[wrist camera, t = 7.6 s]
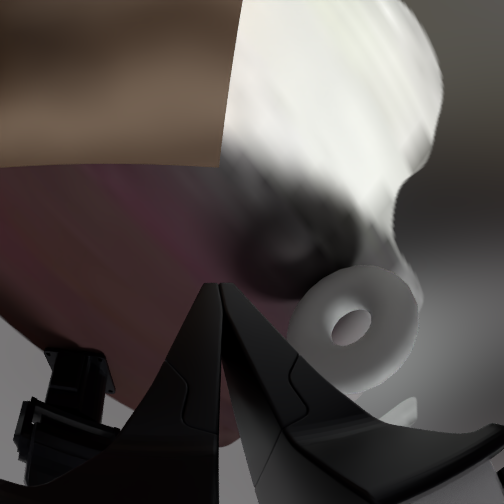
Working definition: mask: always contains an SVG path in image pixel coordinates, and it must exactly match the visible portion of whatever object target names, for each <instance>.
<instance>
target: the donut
mask: <svg viewBox="0 0 504 504" xmlns="http://www.w3.org/2000/svg"><path fill="white" fill-rule="evenodd" d="M358 309H364V310H366V311H368V312H369V313H370V314H371V325H370V328H369V329H368V331H367V332H366V333H365V335H364V336H363V337H361V338H360V339H359V340H358V341H356V342H354V343H352V344H350V345H347V346H339V345H335V344H334V343H333V342H332V338H331V332H332V330H333V328H334V325H335V324H336V323H337V321H338V320H339V319H340V318H341V317H343V316H344V315H345V314H347V313H349V312H351V311H353V310H358ZM418 329H419V322H418V306H417V302H416V300H415V298H414V296H413V294H412V292H411V290H410V288H409V286H408V285H407V284H406V283H405V282H404V281H403V280H402V279H401V278H399V277H398V276H397V275H396V274H395V273H393V272H391V271H388V270H385V269H383V268H380V267H377V266H370V265H356V266H352V267H348V268H344V269H340V270H338V271H336V272H334V273H332V274H330V275H328V276H326V277H324V278H323V279H321V280H320V281H319V282H318V283H316V284H315V285H314V286H313V287H311V288H310V289H309V290H308V292H307V293H306V294H305V295H304V297H303V298H302V299H301V300H300V302H299V303H298V304H297V306H296V308H295V310H294V312H293V314H292V317H291V319H290V321H289V326H288V332H287V337H286V338H287V341H288V342H289V343H290V344H291V346H292V347H293V348H294V349H295V350H296V351H297V352H298V353H299V355H301V356H302V357H303V358H304V359H305V360H306V361H307V362H308V363H309V364H310V365H311V366H312V367H313V368H314V369H315V370H316V371H317V372H318V373H319V374H320V375H321V376H323V377H324V378H325V379H326V380H327V381H328V382H330V383H331V384H332V385H333V386H334V387H335V388H337V389H338V390H339V391H341V392H342V393H343V394H356V393H360V392H363V391H365V390H368V389H370V388H373V387H375V386H378V385H380V384H381V383H383V382H384V381H385V380H386V379H388V378H389V377H390V376H391V375H393V374H394V373H395V372H396V371H398V370H399V369H400V367H401V366H402V364H403V363H404V361H405V360H406V359H407V357H408V356H409V354H410V353H411V351H412V350H413V346H414V343H415V340H416V336H417V333H418Z"/></svg>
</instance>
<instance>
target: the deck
mask: <svg viewBox="0 0 504 504" xmlns="http://www.w3.org/2000/svg"><path fill="white" fill-rule="evenodd" d="M242 1H243V0H0V168H3V167H17V166H34V165H58V164H157V165H183V166H202V167H218V168H219V161H220V153H221V144H222V136H223V128H224V120H225V113H226V105H227V98H228V91H229V83H230V76H231V70H232V63H233V56H234V50H235V43H236V37H237V31H238V25H239V18H240V13H241V7H242Z"/></svg>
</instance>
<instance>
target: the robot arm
mask: <svg viewBox="0 0 504 504" xmlns="http://www.w3.org/2000/svg"><path fill="white" fill-rule="evenodd" d="M44 355H45V357H46V359H47V361H48V363H49V365H50V367H51V369H52V375H51V378H50V382H49V387H48V390H47V394H46V398H45V403H44V402H41V401H39V400H37V398H35V397H32V398H31V402H30V401H23V404H22V408H21V411H20V415H19V419H18V423H17V426H16V430H15V434H14V438H13V441H14V443H15V444H16V446H17V448H18V450H17V452H19V459H18V460H20V461H22V462H25V463H26V467H25V475H24V484H25V486H24V485H19V484H15V483H12V482H9V481H6V480H2V479H0V504H219V473H218V472H219V469H218V468H219V465H218V464H219V459H218V458H219V414H220V384H221V359H222V364H223V369H224V373H225V377H226V381H227V386H228V390H229V394H230V398H231V402H232V406H233V410H234V414H235V418H236V422H237V426H238V430H239V434H240V438H241V441H242V445H243V449H244V452H245V456H246V460H247V463H248V467H249V471H250V474H251V478H252V481H253V484H254V487H255V492H256V495H257V499H258V502H259V504H504V467H503V468H502V469H500V470H499V471H498V472H496V471H495V469H494V467H493V465H492V463H491V461H490V459H491V458H493V457H494V456H495V455H497V454H498V453H499V452H501V451H502V450H503V449H504V425H500V424H495V423H491V424H488V425H486V426H484V427H483V428H481V429H479V430H477V431H474V432H471V433H462V434H456V433H444V432H436V431H428V430H422V429H415V428H409V427H403V426H397V425H392V424H388V423H385V422H383V421H380V420H378V419H377V418H375V417H373V416H372V415H370V414H369V413H367V412H366V411H365V410H363V409H362V408H361V407H360V406H358V405H357V404H356V403H354V402H353V401H352V400H351V399H349V398H348V397H347V396H346V395H344V394H343V393H342V392H341V391H339V390H338V389H337V388H335V387H334V386H333V385H332V384H331V383H330V382H328V381H327V380H326V379H325V378H324V377H323V376H321V375H320V374H319V373H318V372H317V371H316V370H315V369H314V368H313V367H312V366H311V365H310V364H309V363H308V362H307V361H306V360H305V359H304V358H303V357H302V356H301V355H299V353H298V352H297V351H296V350H295V349H294V348H293V347H292V346H291V344H290V343H289V342H288V341H287V340H286V339H285V338H284V337H283V336H282V335H281V334H280V333H279V332H278V331H277V330H276V329H275V328H274V327H273V326H272V324H271V323H270V322H269V321H268V320H267V319H266V318H265V317H264V316H263V315H262V314H261V313H260V312H259V311H258V309H257V308H256V307H255V306H254V305H253V304H252V303H251V302H250V301H249V300H248V299H247V298H246V297H245V295H244V294H243V293H242V292H241V291H240V290H239V289H238V288H237V287H236V286H235V285H234V284H233V283H220V284H219V285H218V284H217V283H204V284H203V286H202V287H201V289H200V291H199V293H198V295H197V297H196V299H195V301H194V303H193V305H192V307H191V309H190V311H189V313H188V315H187V317H186V319H185V321H184V323H183V325H182V327H181V329H180V331H179V333H178V335H177V337H176V339H175V341H174V343H173V345H172V347H171V349H170V351H169V353H168V355H167V357H166V359H165V361H164V362H163V364H162V366H161V368H160V370H159V372H158V374H157V376H156V378H155V380H154V382H153V383H152V385H151V387H150V388H149V390H148V392H147V393H146V395H145V396H144V398H143V399H142V401H141V402H140V404H139V405H138V407H137V408H136V409H135V411H134V412H133V414H132V415H131V417H130V418H129V419H128V421H127V422H126V424H125V425H124V427H123V428H122V430H121V431H120V429H119V428H116V427H114V428H113V427H110V426H106V425H103V424H101V423H102V415H103V405H104V398H105V393H108V394H114V393H115V386H114V383H113V379H112V376H111V373H110V370H109V366H108V363H107V360H106V357H105V355H103V354H101V353H90V352H80V351H70V350H61V349H53V348H45V351H44ZM32 422H33V423H34V424H32Z"/></svg>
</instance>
